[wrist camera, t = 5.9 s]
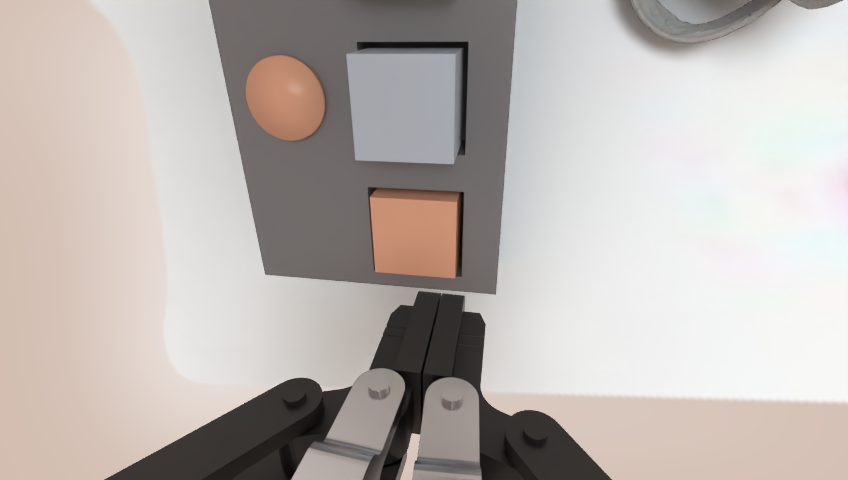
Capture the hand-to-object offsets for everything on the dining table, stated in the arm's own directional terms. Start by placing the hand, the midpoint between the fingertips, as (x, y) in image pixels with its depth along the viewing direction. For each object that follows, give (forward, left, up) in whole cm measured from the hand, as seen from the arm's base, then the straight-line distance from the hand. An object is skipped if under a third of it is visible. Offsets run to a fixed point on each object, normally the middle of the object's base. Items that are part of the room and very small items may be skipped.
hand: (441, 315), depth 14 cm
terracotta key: (+2, -3, -12) cm, 13 cm away
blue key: (-5, -3, -10) cm, 12 cm away
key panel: (-5, -5, -13) cm, 15 cm away
